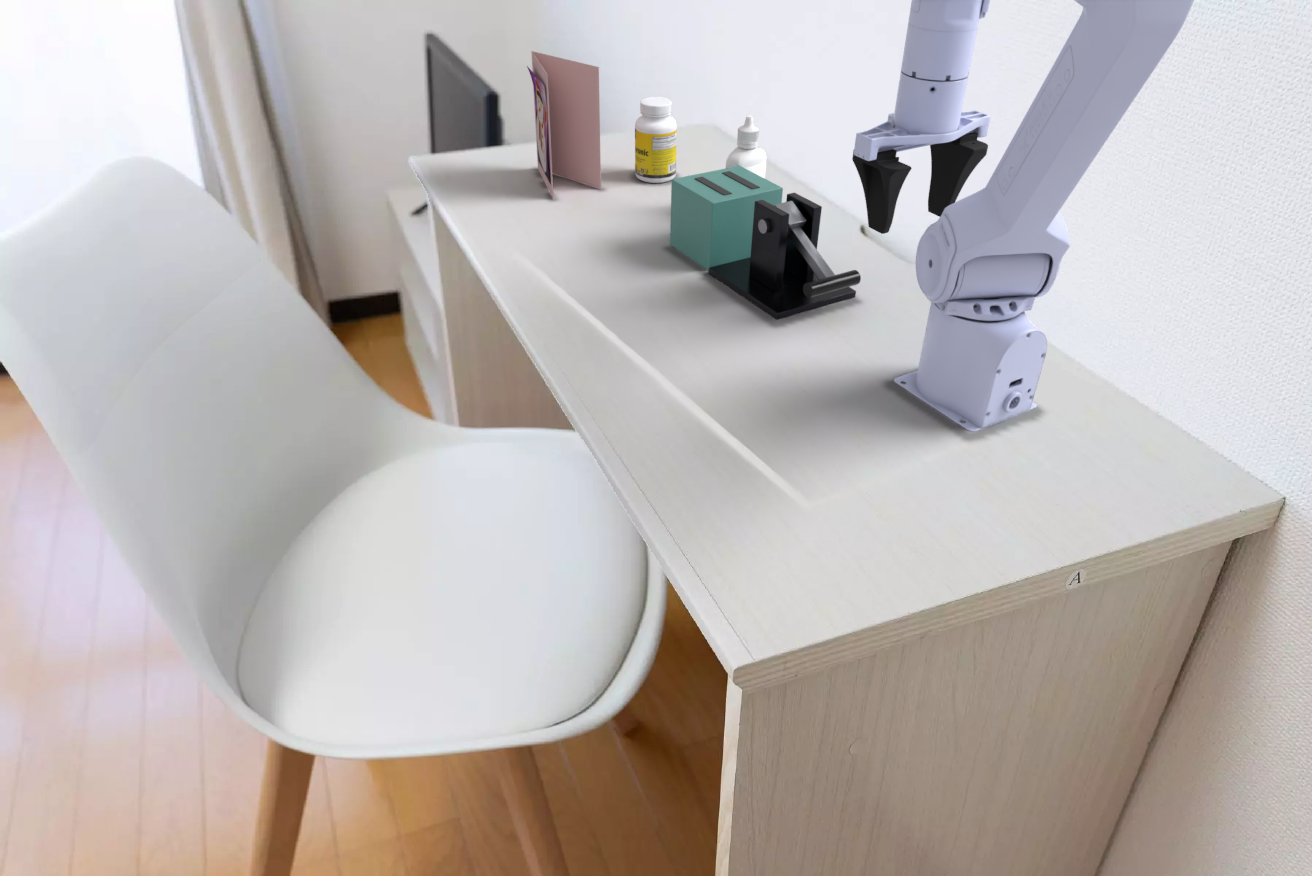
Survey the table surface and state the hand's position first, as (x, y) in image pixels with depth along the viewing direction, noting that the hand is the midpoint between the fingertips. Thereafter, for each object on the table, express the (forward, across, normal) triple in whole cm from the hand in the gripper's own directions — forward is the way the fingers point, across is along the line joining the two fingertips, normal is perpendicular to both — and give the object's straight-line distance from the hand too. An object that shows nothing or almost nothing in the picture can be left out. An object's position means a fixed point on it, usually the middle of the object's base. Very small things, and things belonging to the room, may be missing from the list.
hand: (908, 222), depth 91 cm
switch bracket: (+9, +7, -10) cm, 15 cm away
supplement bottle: (+10, +1, -44) cm, 46 cm away
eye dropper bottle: (+10, -1, -28) cm, 29 cm away
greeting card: (+10, +12, -48) cm, 51 cm away
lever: (+5, +7, -6) cm, 11 cm away
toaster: (+9, +7, -20) cm, 23 cm away
